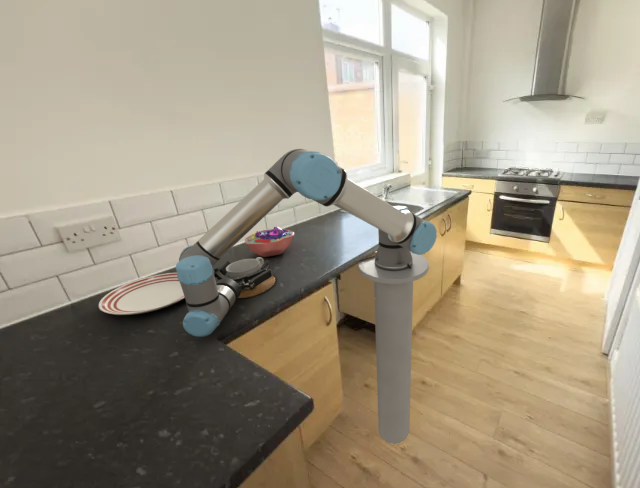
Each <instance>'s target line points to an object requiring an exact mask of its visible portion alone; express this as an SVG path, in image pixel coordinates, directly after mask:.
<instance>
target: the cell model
mask: <svg viewBox="0 0 640 488" xmlns="http://www.w3.org/2000/svg"><path fill="white" fill-rule="evenodd" d="M294 236H295V232H294V231H293V230H289V229H284V228H281V227H279V226H274V227H273V228H271V229H263V230H258V231H256V232H254V233H251V234H250V235H248V236H247V237H245V238H244V244H245V245H246V247H247V248H248V250H250V251H251V252H252V253H253V254H254V255H257V256H259V257H261V258H269V257H275V256H280V255H282V254H283V253H284V252H285V251H287V250H288V249H289V247H290V246H291V244H292V242H293V239H294Z"/></svg>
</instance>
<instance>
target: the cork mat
mask: <svg viewBox="0 0 640 488" xmlns="http://www.w3.org/2000/svg"><path fill="white" fill-rule="evenodd" d="M275 284H276V277H275V276H274V275H273V274H272V277H270V278H269V279H267V280H265V281H264V282H262V283H261V284H259V285H257V286H256V287H255V288H254V289H253V290H250V288H249V289H243V290H241V293H240V296H239V297H238V298H237V299H244V298H251V297H256V296H259V295H260V294H264V293H265V292H267V291H268V290H270V289H271V288H273V287H274V286H275Z"/></svg>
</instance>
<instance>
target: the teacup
mask: <svg viewBox="0 0 640 488" xmlns="http://www.w3.org/2000/svg"><path fill="white" fill-rule="evenodd" d="M264 263H265V260H264V257H262V256H258V257H255V258H244V259H239V260H236V261H234V262H233V261H232V262H230V264H229V265H228V266H227V267H226V271H227V273H226V274H227V276H228V277H227V278H236V277H240V276H243V275H245V276H247V275H249V274H252V273H254V272H257V271H259V270H261V269H260V268H261V267H262V265H263V264H264ZM242 280H243V281H244V279H242ZM244 289H249V287H245V288H244Z"/></svg>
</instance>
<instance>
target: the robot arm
mask: <svg viewBox="0 0 640 488" xmlns="http://www.w3.org/2000/svg"><path fill="white" fill-rule="evenodd" d="M296 193H299V194H300V195H301V196H302V197H305V198H306V199H308V200H312V201H314V202H315V203H318V204H320V205H321V206H323V207H327V208H328V207H331V206H335V207H337V208H339V209H341V210H342V211H344V212H346V213H348V214H350V215H351V216H354V217H355V218H357V219H359V220H361V221H363V222H365V223H367V224H369V225H370V226H372V227H374V228H376V229H377V230H378V231H377V232H378V247H377V250H376V251H377V253H376V252H375V255H374V256H375V265H376V267H378V268H380V269H382V270H386V271H401V270H405V269H407V268H409V269H411V268H412V267H411V266H412V263H413V258H412V255H411V252H412V253H414V254H417V255H422V256H424V255H426V253H429V251H431V249H432V248H433V247H434V246H435V243H436V241H437V237H438V234H437V232H438V231H437V227H436V226H435V224H433V223H432V222H431V221H429V220H425V219H423V218H421V217H420V216H418V215H417V214H415V213H413V212H411V211H410V209H409V206H406V205H392V204H390V203H388V202H387V201H385V200H383V199H382V198H380V197H379V196H377V195H375V194H374V193H372V192H371V191H369V190H367V189H366V188H364V187H363V186H361V185H360V184H358V183H357V182H354V181H353V180H351V179H350V178H349V177H348V172H347V171H346V169H344V168H342V167H341V166H339V165H338V164H337V163H336V162H335V161H334V159H332V158H331V157H330V156H329V155H328V154H327V155H326V154H325V153H322V152H320V151H313V150H307V149H304V148H295V149H291V150H289V151H287V152H286V153H284V154H283V155H282V156H281V157H280V158H278V160H277V161H276V162H275V163H274V164H273V165H271V166H270V167H269V168H268V169H267V170H266V171H265V172H264V173H263V179H262V180H261V181H260V183H258V184H257V185H256V186H255V187H254V188H253V189H252V190H250V191H249V193H247V194H246V195H245V196H244V197H243V198H242V199H241V200H240V201H239V202H237V204H235V206H234V207H232V208H231V209H230V210H229V211H228V212H227V213H226V214H225V215H223V217H222V218H221V219H220V220H219V221H217V222H216V223H215V225H213V226H212V227H211V228H209V230H208V231H207V232H205V234H203V236H201V237H200V238H199V239H198V240H197V241H196V242H195V243H194V244H191V245H188V246H186V247H185V248H183V250H182V251H181V252H180V254H179V258H178V261H177V262H176V264H175V270H176V273H177V277H178V280H179V281H180V284H181V287H182V290H183V293H184V296H185V298H184V299H185V303H186V304H185V305H186V307H187V311H188V312H187V313H186V314H185V316H184V317H183V320H182V327H183V329H184V330H185V331H186V333H187V334H189V335H191V336H193V337H197V338H204V337H205V338H206V337H208V336H209V335H211V334H212V333H213V332H214V331H215V330H216V329H217V328H218V327H219V326H220V325H221V322H222V321H223V320H224V318H225V317H226V315H227V314H228V312H229V311H230V310H231V308H232V306H233V305H234V304H235V303H236V301H237V300H238V299H239V298H238V297H239V296H240V293H241V290H243V289H244V288H245V287H249V288H250V290H253V289H254V288H255V287H256V286H257V285H259V284H261V283H262V282H264V281H265V280H267V279H269V278H270V277H272V275H273V273H272V270H271V268H270V267H271V266H270V261H269V259H266V260H264V264H263V265H262V267H261V268H260V269H261V270H259V271H257V272H254V273H252V274H249V275H247V276H245V275H243V276H240V277H236V278H229V277H227V276H226V274H227V271H226V267H227V266H228V265H229V264H231V262H230V261H229V260H228V261H226V262H225V263H224V264H223V265H222V266H221V267H219V268H218V267H216V268H213V266H214V265H215V264H217V263H218V262H219V261H220V260H221V259H222V258H223V256H225V255H226V254H227V253H228V252H229V251H230V250H231V249H232V248H233V247H234V246H235V245H237V243H238V242H240V240H242V239H243V238H244V237H245V236H246V235H247V234H248V233H249V232H250V231H251V230H252V229H253V228H255V226H256V225H257V224H258V223H259V222H261V221H262V220H263V219H264V218H265V217H266V216H267V215H268V214H269V213H270V212H271V211H272V210H273V209H274V208H275V207H276V206H277V205H278V204H279V203H281V202H282V201H283V200H286V199H287V200H288V199H290V198H291V197H292V196H293V195H294V194H296ZM410 251H411V252H410ZM216 279H217V281H216ZM242 279H244V281H243V280H242Z"/></svg>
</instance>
